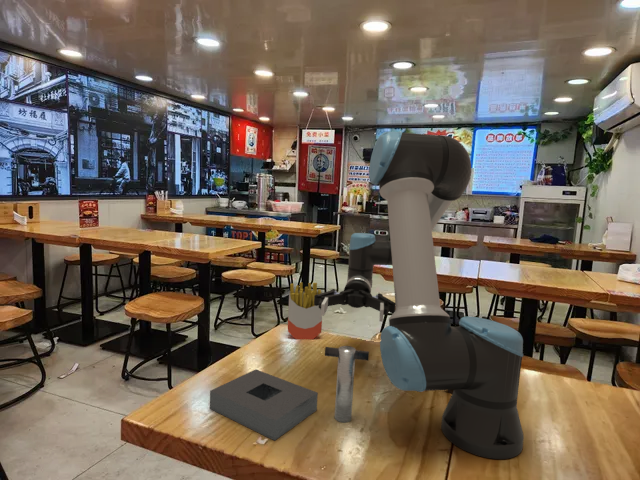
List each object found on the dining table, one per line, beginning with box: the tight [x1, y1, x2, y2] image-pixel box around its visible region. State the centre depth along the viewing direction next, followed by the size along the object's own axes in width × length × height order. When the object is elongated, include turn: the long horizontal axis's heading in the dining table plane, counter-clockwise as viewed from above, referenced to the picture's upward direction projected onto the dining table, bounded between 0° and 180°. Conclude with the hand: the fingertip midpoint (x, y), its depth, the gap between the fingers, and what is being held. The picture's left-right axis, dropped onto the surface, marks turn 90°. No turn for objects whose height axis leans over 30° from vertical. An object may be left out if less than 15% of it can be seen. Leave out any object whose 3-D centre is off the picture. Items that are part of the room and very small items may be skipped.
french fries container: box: [287, 281, 323, 341], centre depth 130 cm, size 5×11×18 cm, turn 96°
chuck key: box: [324, 345, 370, 423], centre depth 83 cm, size 9×4×15 cm, turn 81°
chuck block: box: [209, 368, 319, 442], centre depth 85 cm, size 18×14×4 cm
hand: (351, 312), depth 91 cm, fingers open, 13 cm apart
